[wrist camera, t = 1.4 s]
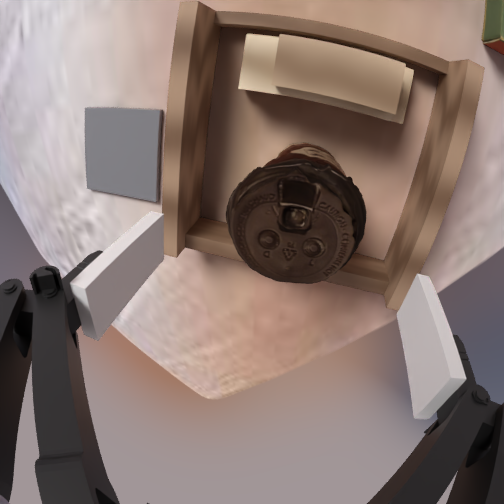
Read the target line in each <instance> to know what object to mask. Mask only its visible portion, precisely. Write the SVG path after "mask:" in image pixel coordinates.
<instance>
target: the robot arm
mask: <svg viewBox="0 0 504 504" xmlns="http://www.w3.org/2000/svg"><path fill="white" fill-rule="evenodd" d="M163 259H164V214H162V213H157V212H153V211H150V212H149V213H148V214H147V215H146V216H144V217H143V218H142V219H141V220H140V221H138V222H137V223H136V224H135V225H134V226H132V227H131V228H130V229H129V230H128V231H127V232H125V233H124V234H123V235H122V236H121V237H120V238H118V239H117V240H116V241H115V242H114V243H113V244H112V245H110V246H109V247H108V248H107V249H106V250H105V251H104V252H103V251H96V252H94V253H92V254H90V255H88V256H87V257H86V258H85V259H84V260H83V261H82V262H81V263H79V264H78V265H77V267H75V268H74V269H73V270H72V271H71V272H69V273H68V274H67V275H66V276H65V277H64V278H63V279H62V280H61V276H60V272H59V269H58V268H56V267H54V266H43V267H40V268H38V269H36V270H34V272H33V273H32V274H31V275H30V281H31V284H32V288H33V290H25V289H24V287H23V284H22V282H21V281H20V280H19V279H9V280H7V281H5V282H4V283H2V284H1V285H0V504H9V500H10V495H11V491H12V484H13V475H14V473H13V472H14V461H15V450H16V441H17V433H18V426H19V420H20V414H21V408H22V402H23V397H24V392H25V387H26V382H27V378H28V374H29V369H30V365H31V361H32V385H33V402H34V414H35V423H36V432H37V440H38V447H39V454H40V456H39V459H37V460H36V462H35V473H36V478H37V482H38V487H39V492H40V496H41V500H42V504H120V503H119V501H118V498H117V496H116V493H115V491H114V489H113V487H112V485H111V483H110V481H109V479H108V477H107V474H106V470H105V467H104V464H103V461H102V457H101V454H100V450H99V446H98V443H97V439H96V435H95V431H94V427H93V423H92V418H91V414H90V409H89V404H88V399H87V394H86V389H85V383H84V377H83V371H82V364H81V358H80V350H79V342H78V335H77V332H76V330H77V329H78V328H79V327H80V326H82V330H83V333H84V335H86V336H88V337H91V338H93V339H95V340H97V341H98V340H99V339H100V338H101V337H102V335H103V334H104V333H105V331H106V330H107V329H108V327H109V326H110V325H111V324H112V322H113V321H114V320H115V319H116V317H117V316H118V315H119V313H120V312H121V311H122V310H123V308H124V307H125V306H126V305H127V303H128V302H129V301H130V300H131V298H132V297H133V296H134V295H135V293H136V292H137V291H138V290H139V288H140V287H141V286H142V285H143V284H144V282H145V281H146V280H147V279H148V277H149V276H150V275H151V274H152V273H153V271H154V270H155V269H156V268H157V267H158V265H159V264H160V263H161V262H162V261H163ZM397 319H398V324H399V329H400V333H401V339H402V344H403V349H404V354H405V360H406V365H407V372H408V379H409V385H410V393H411V399H412V408H413V417H414V419H429V418H431V417H432V416H433V415H434V414H435V413H436V412H437V417H438V419H437V420H436V421H435V422H434V423H433V424H432V425H431V426H430V427H429V428H428V429H427V430H426V431H425V432H424V433H426V435H425V436H424V437H423V439H422V440H421V441H420V443H419V444H418V445H417V447H416V448H415V449H414V451H413V452H412V453H411V455H410V456H409V457H408V458H407V459H406V461H405V462H404V463H403V465H402V466H401V467H400V468H399V469H398V470H397V472H396V473H395V474H394V475H393V476H392V477H391V478H390V480H389V481H388V482H387V483H386V484H385V485H384V486H383V487H382V489H381V490H380V491H379V492H378V493H377V494H376V495H375V496H374V497H373V498H372V499H371V500H370V501H369V502H368V503H367V504H436V503H437V502H438V501H439V499H440V498H441V496H442V495H443V493H444V492H445V490H446V488H447V487H448V485H449V484H450V482H451V481H452V479H453V477H454V476H455V474H456V472H457V471H458V472H457V475H456V478H455V481H454V484H453V487H452V490H451V492H450V495H449V498H448V501H447V503H446V504H504V403H503V404H502V405H500V404H497V403H495V402H492V401H491V400H490V396H489V394H488V392H487V391H486V390H485V389H484V388H483V387H482V386H480V385H477V384H476V381H475V377H474V374H473V371H472V368H471V365H470V362H469V361H468V356H467V354H466V350H465V348H464V344H463V343H462V341H461V340H460V339H459V337H458V336H457V335H453V334H452V332H451V330H450V327H449V324H448V322H447V319H446V316H445V314H444V311H443V308H442V306H441V303H440V301H439V298H438V296H437V293H436V291H435V288H434V286H433V284H432V281H431V279H430V277H429V276H425V275H421V274H417V275H416V277H415V279H414V281H413V283H412V285H411V287H410V289H409V291H408V293H407V295H406V297H405V299H404V301H403V303H402V305H401V307H400V309H399V311H398V313H397ZM147 504H148V503H147Z"/></svg>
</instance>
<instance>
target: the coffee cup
mask: <svg viewBox="0 0 504 504" xmlns="http://www.w3.org/2000/svg"><path fill="white" fill-rule="evenodd" d="M352 181H353V180H352V178H351V177H346V175H345V173H344V171H343V170H342V168H341V167H340V165H339V164H338V163H337V161H336V160H335V159H334V157H333V156H332V155H331V154H330V153H329V152H327V151H326V150H325V149H323V148H321V147H319V146H316V145H312V144H309V143H300V144H291V145H289V146H288V147H287V148H286V149H285V150H283V151H282V152H280V153H279V156H278V157H277V158H276V159H273V160H272V161H270V162H268V163H267V164H266V165H265V166H264V167H263V168H262V167H257V168H256V169H254V170H253V171H252V172H251V173H249V175H248V176H247V177H246V178H245V179H244V180H243V181H242V182H240V183H239V184H238V186H237V188H236V189H235V190H234V191H233V193H232V195H231V197H230V198H229V202H228V205H227V211H226V221H227V225H228V231H229V234H230V236H231V238H232V240H233V244H234V246H235V248H236V250H237V252H238V254H239V256H240V257H241V258H242V259H243V260H244V262H245V263H247V264H248V266H249V267H250V268H251V269H253V270H254V271H256V272H258V273H260V274H261V275H263V276H265V277H268V278H271V279H273V280H275V281H280V282H292V283H306V284H312V283H317V282H320V281H324V280H326V279H328V278H329V277H330V276H332V275H333V274H335V273H337V271H338V270H339V269H341V268H342V267H343V266H345V265H346V264H347V263H348V261H349V260H350V259H351V257H352V255H353V254H354V252H355V250H356V249H357V247H358V245H359V243H360V241H361V240H362V238H363V235H364V229H365V223H366V209H365V204H364V200H363V198H362V194H361V193H360V191H359V189H358V187H357V186H356V185H354V183H353V182H352Z"/></svg>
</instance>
